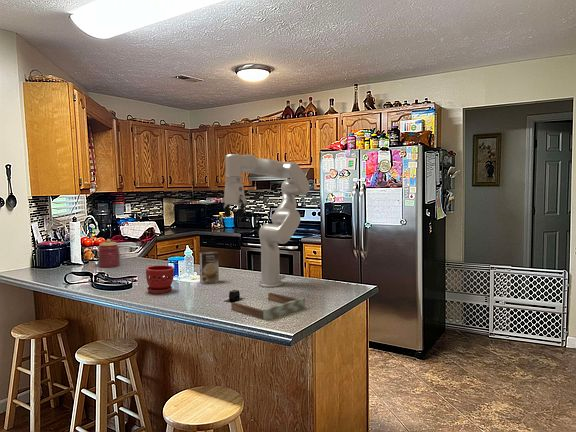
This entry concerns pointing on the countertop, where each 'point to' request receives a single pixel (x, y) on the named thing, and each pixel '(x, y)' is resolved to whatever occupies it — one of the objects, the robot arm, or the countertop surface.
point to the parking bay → (274, 311)
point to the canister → (108, 254)
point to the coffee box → (209, 267)
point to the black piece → (234, 296)
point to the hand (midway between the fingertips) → (234, 216)
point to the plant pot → (159, 278)
